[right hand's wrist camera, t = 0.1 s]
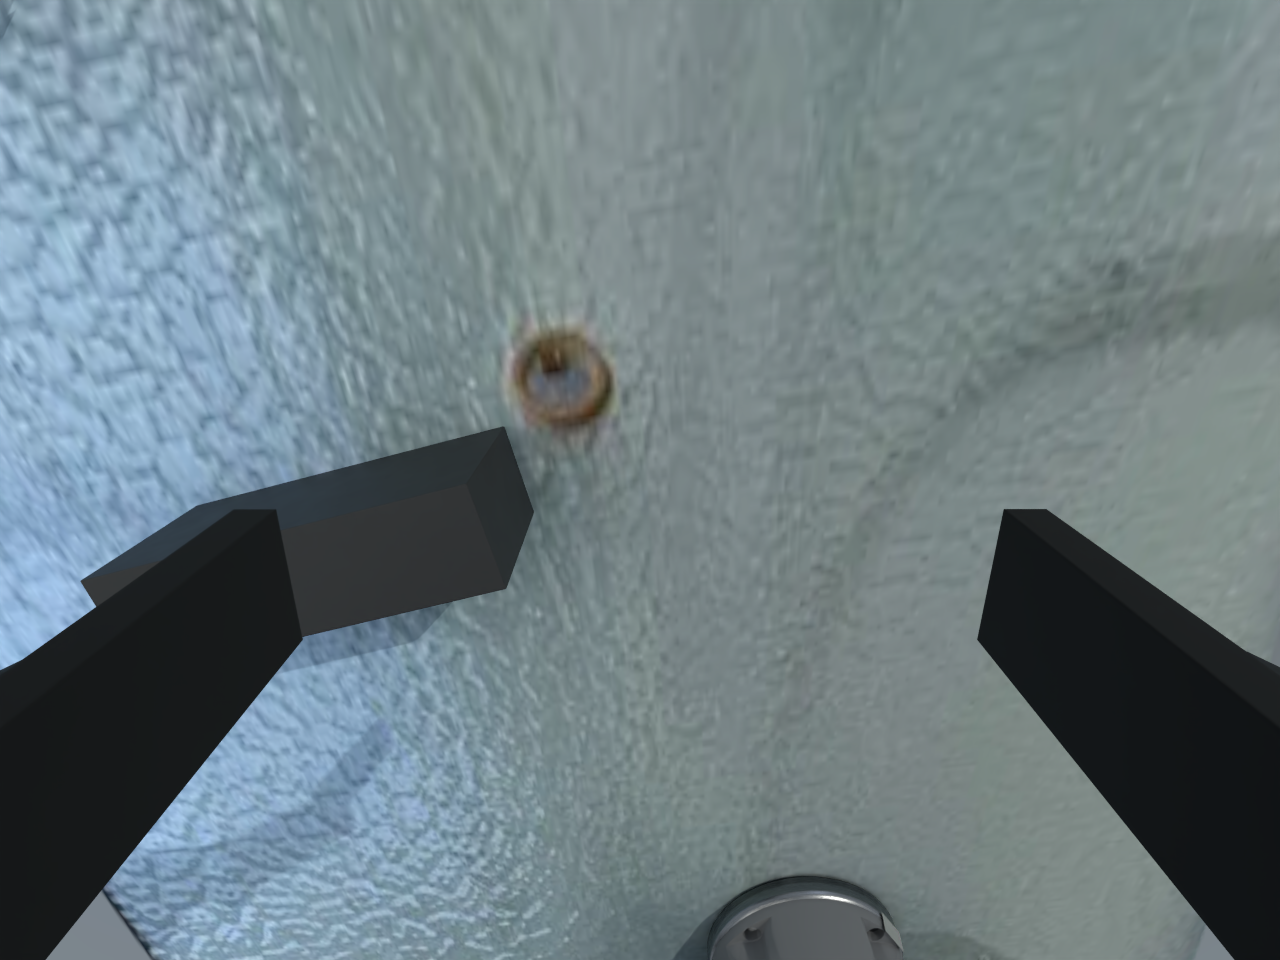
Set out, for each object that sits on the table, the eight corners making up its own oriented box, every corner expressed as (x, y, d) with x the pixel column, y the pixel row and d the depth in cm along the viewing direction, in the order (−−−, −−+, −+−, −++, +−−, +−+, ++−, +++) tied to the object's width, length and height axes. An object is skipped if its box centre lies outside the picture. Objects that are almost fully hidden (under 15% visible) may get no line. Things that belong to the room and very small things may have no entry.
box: (504, 426, 41) (466, 483, 32) (534, 512, 43) (506, 589, 34) (196, 505, 43) (79, 581, 34) (238, 585, 44) (138, 675, 36)
